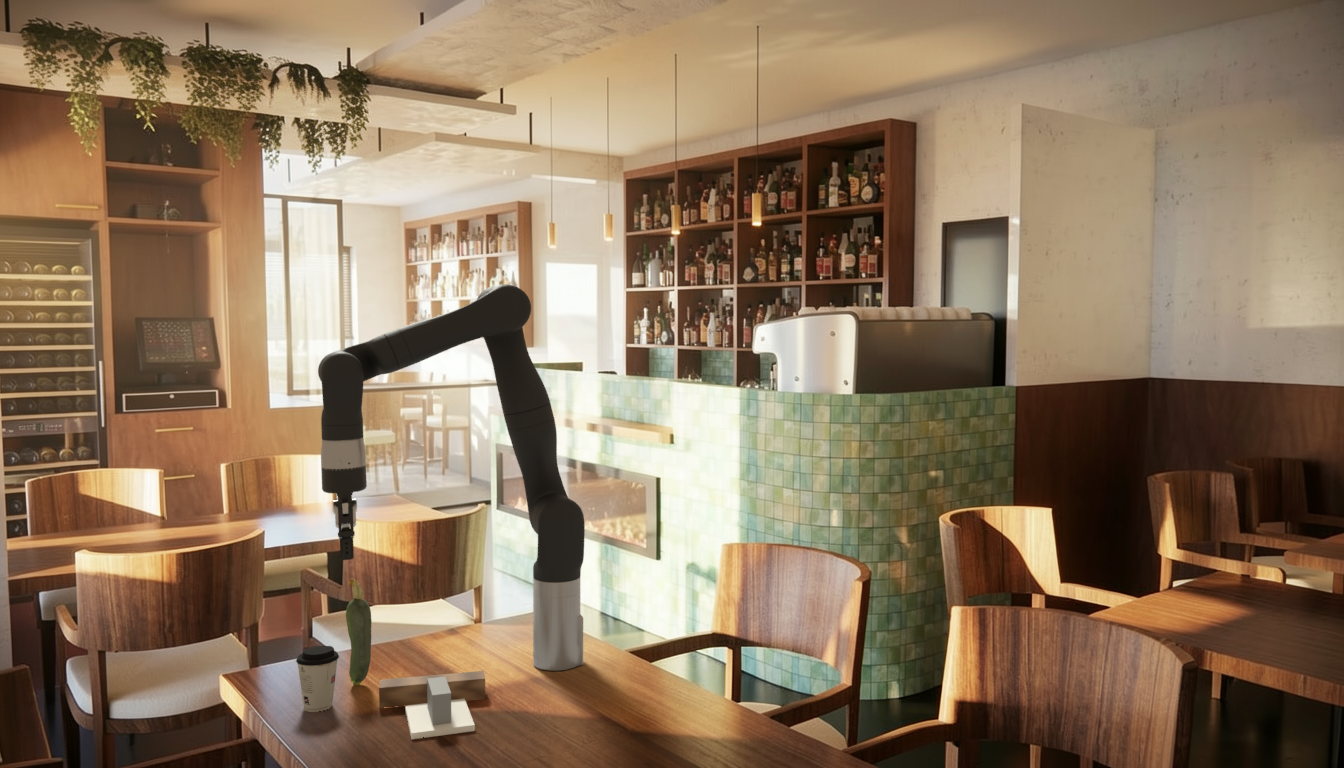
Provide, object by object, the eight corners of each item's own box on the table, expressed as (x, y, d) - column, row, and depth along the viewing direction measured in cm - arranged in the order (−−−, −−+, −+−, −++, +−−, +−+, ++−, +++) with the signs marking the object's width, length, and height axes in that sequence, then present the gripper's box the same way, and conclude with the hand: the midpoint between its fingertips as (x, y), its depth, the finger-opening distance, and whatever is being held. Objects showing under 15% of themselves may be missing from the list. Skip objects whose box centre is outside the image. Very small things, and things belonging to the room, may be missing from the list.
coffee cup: (298, 717, 159) (298, 659, 159) (294, 703, 166) (293, 647, 165) (342, 710, 163) (341, 653, 162) (336, 696, 169) (335, 641, 168)
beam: (483, 692, 172) (483, 670, 172) (485, 700, 168) (485, 678, 168) (379, 702, 167) (379, 679, 167) (379, 710, 163) (379, 687, 163)
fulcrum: (464, 704, 166) (464, 670, 165) (474, 730, 155) (474, 694, 154) (405, 711, 162) (405, 676, 162) (411, 739, 151) (411, 702, 151)
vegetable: (375, 682, 176) (374, 575, 175) (365, 690, 172) (364, 581, 171) (352, 681, 176) (351, 574, 175) (342, 689, 172) (341, 580, 171)
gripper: (367, 468, 163) (370, 561, 164) (364, 457, 176) (367, 544, 177) (320, 470, 160) (324, 565, 161) (321, 460, 174) (324, 547, 175)
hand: (346, 554), depth 169 cm, fingers open, 8 cm apart
